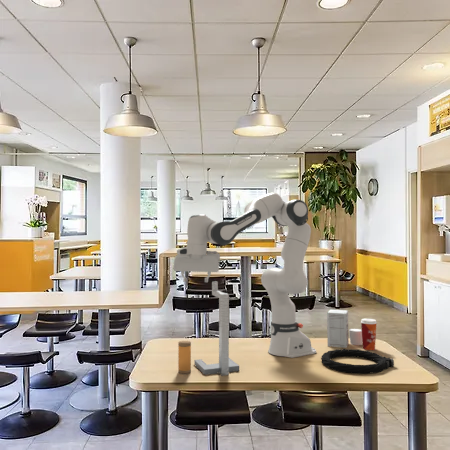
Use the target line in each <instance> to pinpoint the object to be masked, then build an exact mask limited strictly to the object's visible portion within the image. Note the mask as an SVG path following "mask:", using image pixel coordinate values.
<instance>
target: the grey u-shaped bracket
mask: <svg viewBox="0 0 450 450" xmlns="http://www.w3.org/2000/svg"><path fill="white" fill-rule="evenodd" d="M194 366H195V367H196V368H198V370H199V371H200V372H201V373H202V374H203V375H213V374H219V362H218V363H209V364H207V363H206V362H205V361H204V360H203V359H202V358H201V359H194ZM239 371H240V365H239V364H238V363H236V362H235V361H234V360H232V359H231V358H230V357H229V373H230V372H239Z"/></svg>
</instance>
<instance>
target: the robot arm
mask: <svg viewBox="0 0 450 450" xmlns="http://www.w3.org/2000/svg"><path fill="white" fill-rule="evenodd" d="M308 207H309V206H308V205H307V203H306V202H305V201H304V200H302V199H292V200H289V201H284V200H283V198H282V197H281V195H280V194H278V193H276V192H270V193H266V194H264V195H261V196H258V197H256V198H255V199H253V200H251V201H250V202H248V203H247V204H246V205H245V206H244V208H243V209H244V212H243V213H242V214H241V215H239V216H238V217H236V218H234V219H232V220H230V221H220V222H219V221H218V222H217V221H215V220H213V219H211V218H210V217H208V216H207V215H206V214H204V213H200V214H195V215H193V214H192V215H191V216H190V217H189V218H188V222H187V231H186V232H187V233H186V235H187V242H186V246H182V247H181V248H177V249H176V256H175V257H174V260H173V268H172V269H173V271H175V272H180V274H181V276H182V278H183V282H184V283H187V282H188V280H187V279H188V278H187V277H185V275H184V274H185V272H190V273H191V272H195V273H196V272H197V273H198V272H199V273H201V272H202V273H204V272H205V273H207V276H206V277H204V283H208V282H209V278H210V276H211V275H212V273H218V272H219V271H220V263H219V261H220V260H221V255H220V254H221V253H220V252H218V251H216V250H213V251H212V250H208V249H207V248H208V246H207V245H208V243H210V244H215V245H216V244H217V245H220V246H226V245H230V244H231V243H232V242H233V241H234V240H235V238H236V237H237V236H238V235H239V234H240V233H242V232H244V231H245V230H247V229H248V228H250V227H252V226H254V225H256V224H261V223H262V222H264V221H267V220H268V219H270V218H272V219H273V221H274V222H275V224H277V225H278V226H281V227H287V230H288V231H287V234H286V238H285V240H284V242H283V243H284V244H283V246H282V249H281V252H280V256H281V258H282V260H283V268H277V267H274V268H268V269H265V270H264V271H263V272H262V275H261V277H260V281H261V285H262V286H263V288H264V289H265V291H266V292H267V294H268V298H269V300H270V305H271V308H270V309H271V321H270V334H271V335H270V341H269V342H270V344H269V347H268V352H267V353H269V354H270V355H274V356H278V357H287V358H292V359H293V358H298V357H303V356H309V355H314V354H317V349H316V348H314V347H312V342H311V339H310V338H309V337H308V336H307V335H306V334H305V333H303V332H302V331H301V330H300V329H303V327H304V325H303V324H302V323H299V322H297V321H296V305H295V303H294V302H293V301H292V300H291V298H290V295H298V294H302V293H304V292H305V291H306V290H307V287H308V277H307V276H306V274H305V271H304V260H305V256H306V253H307V250H308V246H309V244H310V239H311V234H312V228H311V226H310V224H308V223H307V222H308V221H309V208H308Z"/></svg>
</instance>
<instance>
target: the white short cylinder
mask: <svg viewBox="0 0 450 450" xmlns="http://www.w3.org/2000/svg"><path fill="white" fill-rule="evenodd" d="M348 334H349V343H350V345H353V346H363V344H362V328H361V329H360V328H350V329H349V328H348Z"/></svg>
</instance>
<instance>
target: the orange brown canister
mask: <svg viewBox="0 0 450 450" xmlns="http://www.w3.org/2000/svg"><path fill="white" fill-rule="evenodd" d="M177 343H178V346H177V347H178V349H177V350H178V353H177V354H178V358H177V359H178V360H177V362H178V363H177V364H178V366H177V368H178V374H180V375H188V374H190V373H191V371H192V369H191V368H192V364H191V363H192V361H191V360H192V341H190V340H181V341H178V342H177Z"/></svg>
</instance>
